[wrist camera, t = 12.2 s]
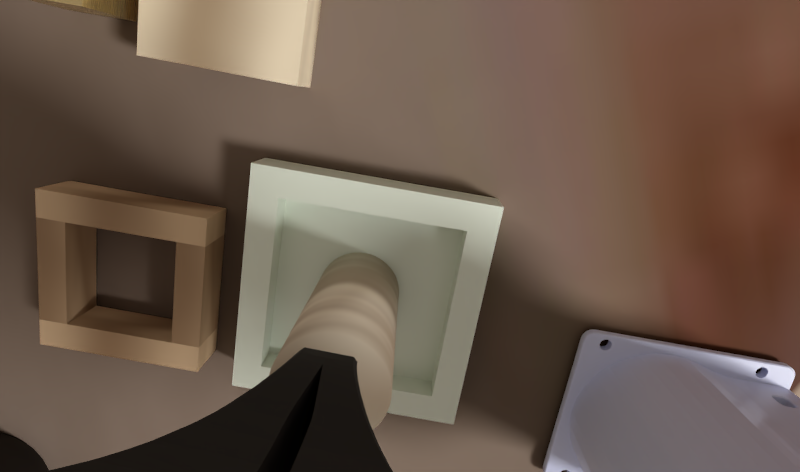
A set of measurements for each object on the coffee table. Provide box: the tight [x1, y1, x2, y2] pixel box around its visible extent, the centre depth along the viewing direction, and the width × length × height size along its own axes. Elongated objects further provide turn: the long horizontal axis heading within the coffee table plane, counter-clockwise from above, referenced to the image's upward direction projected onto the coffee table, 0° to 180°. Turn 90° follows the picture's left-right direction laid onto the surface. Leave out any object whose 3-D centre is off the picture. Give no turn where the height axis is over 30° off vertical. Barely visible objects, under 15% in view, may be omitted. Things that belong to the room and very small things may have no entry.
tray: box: [232, 158, 504, 425], centre depth 21 cm, size 10×10×2 cm
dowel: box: [269, 253, 399, 430], centre depth 18 cm, size 4×4×8 cm
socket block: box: [35, 181, 227, 372], centre depth 22 cm, size 7×7×2 cm
